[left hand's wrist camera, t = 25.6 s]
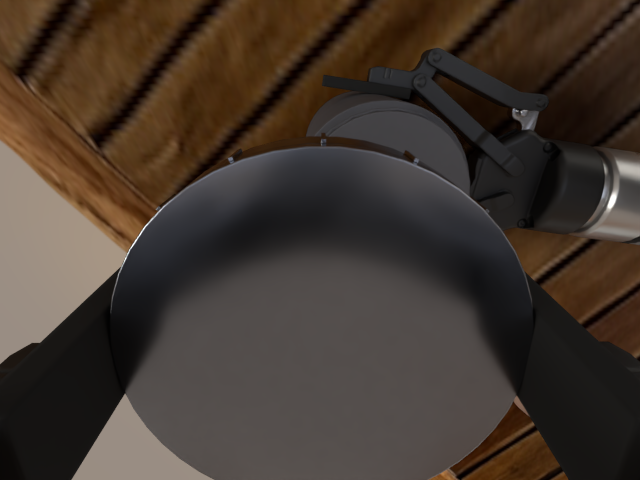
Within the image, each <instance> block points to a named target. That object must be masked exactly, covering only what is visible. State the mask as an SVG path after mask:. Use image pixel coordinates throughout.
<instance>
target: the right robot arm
mask: <svg viewBox="0 0 640 480" xmlns="http://www.w3.org/2000/svg"><path fill="white" fill-rule="evenodd" d="M435 72H436V73H438V74H440V75H442V76H444V77H446V78H448V79H449V80H451V81H453V82H455V83H457V84H459V85H461V86H463V87H464V88H466V89H468V90H470V91H472V92H474V93H476V94H478V95H479V96H481V97H483V98H485V99H487V100H489V101H491V102H493V103H495V104H497V105H499V106H503V107H508V110H507V114H508V117H509V118H511V119H513V120H515V121H516V123H517V128H516V129H513V130H511V131H509V132H507V133H505V134H503V135H501V136H499V137H497V138H495V137H494V136H493V135H492V134H491V133H489V132H488V131H486V130H485V129H484V128H483V127H482V126H481V125H480V124H479V123H478V122H477V121H475V120H474V119H473V118H472V117H471V116H470V115H469V114H468V113H467V112H466V111H465V110H464V109H463V108H462V107H461V106H460V105H458V104H457V103H456V102H455V101H454V100H453V99H452V98H451V97H450V96H449V95H448V94H447V93H446V92H445V91H444V90H443V89H441V88H440V87H439V86H438V85H437V84H436V83H435V82H434V81H433V80H432V77H433V75H434V74H435ZM322 86H327V87H333V88H340V89H346V90H352V91H359V92H365V93H371V94H378V95H384V96H390V97H397V98H403V99H409V98H410V93H411V90H412V91H413V92H414V93H415V94H416V95H417V96H419V97H420V98H421V99H422V100H423V101H424V102H425V103H426V104H427V105H428V106H429V107H431V108H432V109H433V110H434V111H435V112H436V113H437V114H438V115H439V116H440V117H441V118H443V119H444V120H445V121H446V122H447V123H448V124H449V125H450V126H451V127H452V128H453V129H454V130H456V131H457V132H458V133H459V134H460V135H461V136H462V137H463V138H464V139H465V140H466V141H467V142H468V143H469V144H470V145H471V146H472V147H473V148H474V149H475V151H474V152H473V154H470V155H469V158H468V162H467V164H468V170H469V178H470V196H471V197H473V198H474V199H475V200H476V201H478V202H479V203H480V204H482V205H483V206H484V207H485V208H487V209H488V210H489V213H488V214H489V215H490V217H491V218H492V219H493V220H494V221H495V222H496V223H497V225H498V226H499V227H500V228H501V229H502V231H504V230H507V229H510V228H522V229H528V230H535V231H542V232H549V233H556V234H570V235H572V236H576V237H584V238H592V239H600V240H607V241H616V242H622V243H630V244H636V245H640V153H638V152H631V151H625V150H619V149H612V148H606V147H597V146H595V147H591V146H589V145H586V144H580V143H574V142H567V141H561V140H554V139H548V138H542V137H541V136H539V135H538V134H537V133H536V132H535V131H534V129H535V125H536V121H537V118H538V114H539V111H543V110H544V109H545V108H546V107H547V106H548V104H549V100H548V97H547V96H546V95H543V94H533V93H523V92H519V91H517V90H516V89H514V88H512V87H510V86H508V85H506V84H505V83H503V82H501V81H499V80H497V79H495V78H494V77H492V76H490V75H488V74H486V73H484V72H483V71H481V70H479V69H477V68H475V67H473V66H472V65H470V64H468V63H466V62H464V61H462V60H461V59H459V58H457V57H455V56H453V55H451V54H450V53H448V52H446V51H444V50H442V49H440V48H434V49H430V50H427V51H425V52H424V53H423V54H422V56H421V59H420V61H419V63H418V64H417V66H416V67H415V69H413V70H412V71H404V70H397V69H391V68H385V67H379V66H378V67H373V68H370V69H369V72H368V77H367V82H366V81H359V80H353V79H347V78H340V77H334V76H328V75H324V76H323V83H322ZM470 196H469V197H470Z"/></svg>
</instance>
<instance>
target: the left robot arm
mask: <svg viewBox="0 0 640 480" xmlns="http://www.w3.org/2000/svg"><path fill="white" fill-rule="evenodd" d="M120 268H121V267H120ZM120 268H119V269H118V270H117V271H116V272H115V273H114V274H113V275H112V276H111V277H110V278H109V279H107V280H106V281H105V282H104V283H103V284H102V285H101V286H100V287H99V288H98V289H97V290H96V291H95V292H94V293H93V294H92V295H90V296H89V297H88V298H87V299H86V300H85V301H84V302H83V303H82V304H81V305H80V306H79V307H78V308H77V309H76V310H75V311H74V312H72V313H71V314H70V315H69V316H68V317H67V318H66V319H65V320H64V321H63V322H62V323H61V324H60V325H59V326H58V327H57V328H55V330H53V331H52V332H51V333H50V334H49V335H48V336H47V337H46V338H45V339H44V340H43V341H42V342H41V343H31V344H30V345H28V346H26V347H24V348H23V349H21V350H19V351H17V352H16V353H14V354H12V355H10V356H9V357H8V358H7V359H6V360H5V361H3V362H2V363H1V364H0V480H71V479H72V478H73V476H74V475H75V473H76V471H77V470H78V468H79V466H80V465H81V463H82V462H83V460H84V458H85V457H86V455H87V454H88V452H89V450H90V449H91V447H92V446H93V444H94V442H95V441H96V439H97V438H98V436H99V434H100V433H101V431H102V429H103V428H104V426H105V425H106V423H107V421H108V420H109V418H110V417H111V415H112V413H113V412H114V410H115V408H116V407H117V405H118V404H119V402H120V400H121V399H122V397H123V396H124V394H125V392H124V390H123V387H122V385H121V382H120V379H119V377H118V374H117V371H116V368H115V364H114V359H113V354H112V350H111V344H110V325H109V320H110V310H111V301H112V295H113V291H114V287H115V284H116V280H117V276H118V273H119V270H120ZM525 275H526V278H527V282H528V286H529V290H530V294H531V298H532V306H533V318H534V332H533V338H532V343H531V348H530V352H529V357H528V361H527V366H526V370H525V375H524V379H523V382H522V385H521V387H520V390H519V392H518V394H517V397H518V398H519V400H520V402H521V403H522V405H523V406H524V408H525V410H526V411H527V413H528V415H529V416H530V418H531V419H532V421H533V423H534V424H535V426H536V427H537V429H538V431H539V432H540V434H541V435H542V437H543V439H544V440H545V442H546V444H547V445H548V447H549V448H550V450H551V452H552V453H553V455H554V456H555V458H556V460H557V461H558V463H559V464H560V466H561V468H562V469H563V471H564V473H565V474H566V476H567V477H568V479H569V480H640V362H639V361H638V360H637V359H636V358H634V357H633V356H632V355H631V354H629V353H628V352H626V351H624V350H622V349H621V348H619V347H617V346H615V345H613V344H612V343H610V342H599V341H598V340H596V339H595V338H594V337H593V336H592V335H591V334H590V333H589V332H588V331H587V330H586V329H585V328H584V327H583V326H582V325H581V324H579V323H578V322H577V321H576V320H575V319H574V318H573V317H572V316H571V315H570V314H569V313H568V312H567V311H566V310H565V309H564V308H563V307H561V306H560V305H559V304H558V303H557V302H556V301H555V300H554V299H553V298H552V297H551V296H550V295H549V294H548V293H547V292H546V291H544V290H543V289H542V288H541V287H540V286H539V285H538V284H537V283H536V282H535V281H534V280H533V279H532V278H531V277H530V276H529V275H528V274H526V273H525Z"/></svg>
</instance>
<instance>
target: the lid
mask: <svg viewBox="0 0 640 480" xmlns="http://www.w3.org/2000/svg"><path fill="white" fill-rule="evenodd" d="M156 210H157V211H158V212H157V213H156V214H155V215H154V216H153V217H152V218H151V219H150V221H149V222H148V223H147V224H146V225H145V226H144V227H143V229H142V230H141V232H140V234H139V235H138V237H137V238H136V240H135V241H134V243H133V244H132V246H131V247H130V249H129V251H128V253H127V255H126V257H125V259H124V262H123V264H122V266H121V268H120V270H119V273H118V276H117V280H116V284H115V287H114V291H113V295H112V301H111V310H110V320H109V325H110V344H111V350H112V354H113V359H114V364H115V368H116V371H117V374H118V377H119V379H120V382H121V385H122V387H123V390H124V392H125V394H126V395H127V397H128V399H129V401H130V403H131V405H132V407H133V408H134V410H135V411H136V413H137V414H138V416H139V417H140V418H141V420H142V421H143V422H144V424H145V425H146V427H147V428H148V429H149V430H150V431H151V432H152V433H153V434H154V435H155V436H156V437H157V439H158V440H159V441H160V442H161V443H162V444H163V445H164V446H165V447H167V448H168V449H169V450H170V451H171V452H173V453H174V454H175V455H176V456H177V457H179V458H180V459H181V460H183V461H184V462H186V463H187V464H189V465H190V466H192V467H193V468H195V469H196V470H198V471H199V472H201V473H203V474H205V475H207V476H209V477H210V478H212V479H214V480H428V479H430V478H432V477H434V476H436V475H438V474H440V473H442V472H444V471H445V470H447V469H448V468H450V467H451V466H453V465H454V464H456V463H457V462H459V461H461V460H462V459H463V458H464V457H465V456H467V455H468V454H469V453H470V452H472V451H473V450H474V449H475V448H476V447H478V446H479V445H480V444H481V443H482V442H483V441H484V439H485V438H486V437H487V436H488V435H489V434H490V433H491V432H492V431H493V430H494V429H495V428H496V426H497V425H498V424H499V422H500V421H501V420H502V418H503V417H504V416H505V414H506V413H507V412H508V410H509V408H510V406H511V405H512V403H513V401H514V399H515V397H516V396H517V394H518V392H519V390H520V387H521V385H522V382H523V379H524V375H525V370H526V366H527V361H528V357H529V352H530V348H531V343H532V338H533V332H534V318H533V306H532V298H531V294H530V290H529V286H528V282H527V278H526V275H525V272H524V270H523V268H522V265H521V263H520V261H519V258H518V256H517V254H516V251H515V250H514V248H513V247H512V245H511V243H510V242H509V240H508V239H507V237H506V236H505V234H504V232H503V231H502V229H501V228H500V227H499V226H498V225H497V223H496V222H495V221H494V220H493V219H492V218H491V217H490V215H489V214H488V213H489V210H488V209H487V208H485V207H484V206H483V205H482V204H480V203H479V202H478V201H476V200H475V199H474V198H473V197H471V196H470V197H469V196H468V195H467V194H466V193H465V192H464V191H462V190H461V189H460V188H459V187H457V186H456V185H455V184H454V183H452V182H451V181H450V180H448V179H447V178H446V177H445V176H443V175H442V174H441V173H439V172H438V171H436V170H434V169H433V168H431V167H429V166H428V165H426V164H425V163H423V162H421V161H420V160H419V159H418V158H417V157H415V156H414V155H413V154H412V153H410V152H409V151H407V150H405V152H404V153H402V152H400V151H398V150H396V149H393V148H390V147H387V146H383V145H380V144H376V143H373V142H369V141H365V140H358V139H351V138H344V137H329V136H326V133H321V136H308V137H300V138H292V139H284V140H279V141H275V142H271V143H267V144H264V145H260V146H256V147H253V148H250V149H248V150H246V151H243V152H242V150H241V149H239V150H237V151H236V152H235V153H233V154H232V155H231V156H230V157H229V158H227V159H225V160H224V161H222V162H220V163H219V164H217V165H215V166H214V167H212V168H210V169H209V170H207V171H205V172H204V173H203V174H202V175H200V176H199V177H198V178H197V179H195V180H194V181H193V182H192V183H190V184H189V185H188V186H187V187H185V188H184V189H183V190H182V191H180V192H179V193H178V194H177V195H176V194H174V195H172V196H171V197H170V198H169V199H167V200H166V201H165V202H164V203H162V204H161V205H160V206H158V208H157V209H156Z"/></svg>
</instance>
